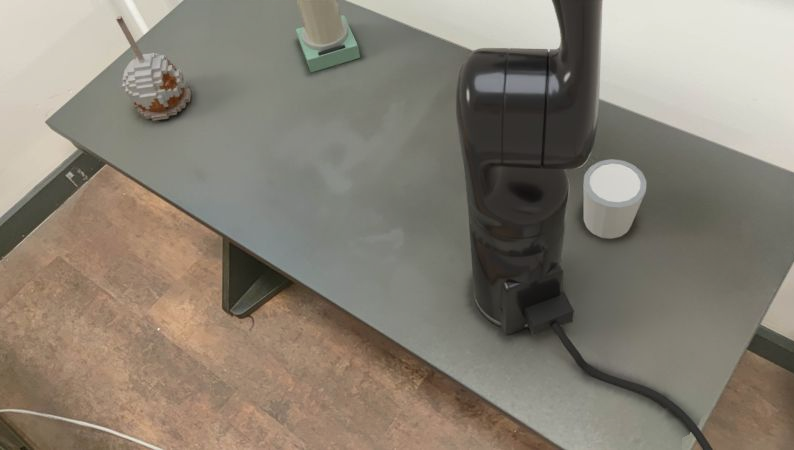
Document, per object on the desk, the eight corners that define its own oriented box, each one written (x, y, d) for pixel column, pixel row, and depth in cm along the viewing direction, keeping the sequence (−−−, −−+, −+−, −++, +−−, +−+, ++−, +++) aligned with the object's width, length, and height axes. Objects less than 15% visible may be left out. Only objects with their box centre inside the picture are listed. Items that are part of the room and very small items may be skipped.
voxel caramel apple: (189, 118, 99) (145, 32, 87) (134, 126, 99) (82, 41, 87) (194, 80, 103) (152, -6, 91) (142, 88, 103) (93, 3, 91)
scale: (360, 57, 103) (356, 40, 101) (310, 72, 102) (305, 55, 100) (347, 27, 108) (343, 10, 105) (299, 41, 107) (294, 24, 104)
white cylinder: (602, 187, 86) (609, 149, 80) (649, 217, 82) (659, 179, 77) (566, 220, 83) (570, 184, 77) (613, 253, 80) (621, 217, 74)
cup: (336, 46, 100) (324, -1, 94) (301, 42, 101) (287, -5, 95) (348, 22, 103) (337, -25, 97) (314, 18, 104) (302, -29, 98)
